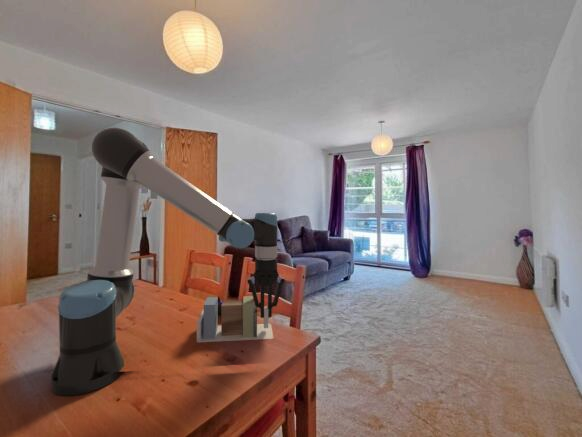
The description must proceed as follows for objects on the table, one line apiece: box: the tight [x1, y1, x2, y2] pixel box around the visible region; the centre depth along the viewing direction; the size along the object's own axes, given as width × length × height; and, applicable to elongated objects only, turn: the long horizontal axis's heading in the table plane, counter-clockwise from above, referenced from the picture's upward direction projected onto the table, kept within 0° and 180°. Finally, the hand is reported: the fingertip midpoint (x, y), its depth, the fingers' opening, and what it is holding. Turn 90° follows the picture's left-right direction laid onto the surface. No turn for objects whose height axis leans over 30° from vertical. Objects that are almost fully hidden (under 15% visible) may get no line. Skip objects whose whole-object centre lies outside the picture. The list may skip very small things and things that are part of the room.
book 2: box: [220, 300, 243, 336], centre depth 96 cm, size 4×7×10 cm, turn 98°
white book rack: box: [196, 309, 275, 343], centre depth 96 cm, size 12×24×8 cm, turn 98°
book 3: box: [242, 295, 255, 337], centre depth 97 cm, size 8×4×11 cm, turn 8°
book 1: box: [203, 296, 219, 339], centre depth 95 cm, size 8×4×11 cm, turn 8°
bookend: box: [254, 303, 258, 337], centre depth 97 cm, size 9×1×8 cm, turn 8°
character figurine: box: [217, 296, 224, 316], centre depth 113 cm, size 8×7×15 cm
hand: (265, 326), depth 98 cm, fingers closed
